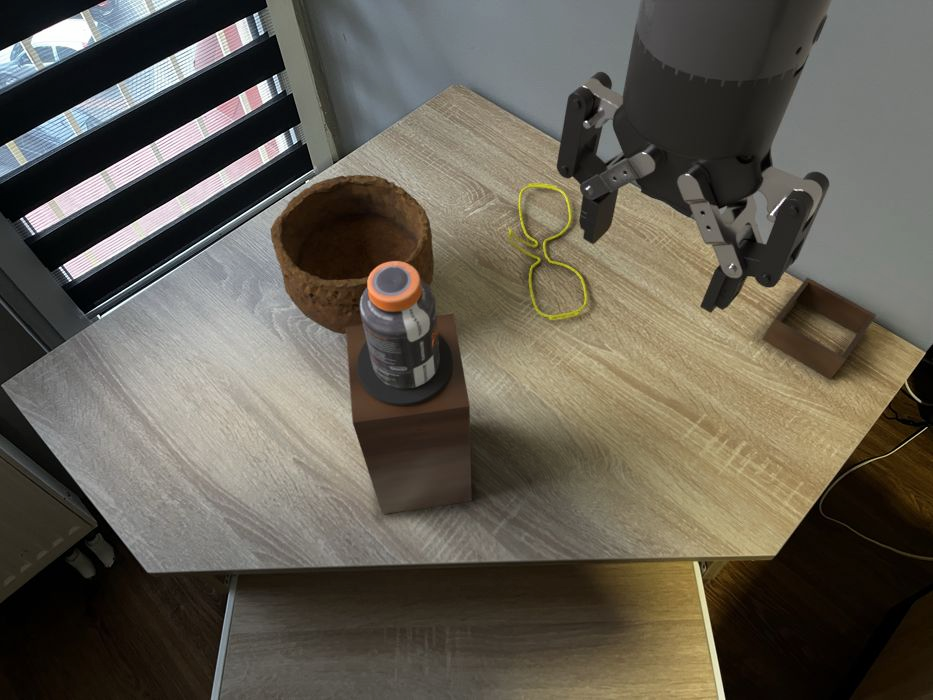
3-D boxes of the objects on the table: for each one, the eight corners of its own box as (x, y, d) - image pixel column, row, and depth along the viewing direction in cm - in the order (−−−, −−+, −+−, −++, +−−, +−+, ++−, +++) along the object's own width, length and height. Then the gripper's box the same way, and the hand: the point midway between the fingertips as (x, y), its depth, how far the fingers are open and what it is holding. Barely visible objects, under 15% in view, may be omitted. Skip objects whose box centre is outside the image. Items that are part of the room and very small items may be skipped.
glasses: (591, 322, 91) (596, 300, 87) (515, 327, 91) (517, 304, 87) (565, 187, 105) (568, 162, 101) (499, 190, 104) (500, 166, 100)
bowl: (318, 243, 99) (295, 162, 87) (448, 258, 97) (443, 177, 85) (278, 353, 89) (245, 279, 76) (422, 371, 87) (413, 299, 75)
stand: (471, 501, 78) (469, 406, 59) (382, 514, 77) (352, 422, 59) (458, 422, 83) (453, 312, 65) (375, 434, 82) (345, 326, 64)
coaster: (459, 399, 60) (458, 395, 59) (361, 413, 59) (360, 409, 59) (445, 320, 64) (445, 316, 64) (354, 332, 64) (353, 329, 63)
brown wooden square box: (861, 333, 89) (876, 314, 86) (829, 379, 86) (844, 362, 82) (795, 296, 93) (807, 277, 89) (761, 339, 89) (772, 321, 86)
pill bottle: (450, 377, 60) (444, 297, 51) (384, 400, 59) (366, 322, 50) (426, 325, 63) (417, 240, 54) (364, 345, 62) (343, 263, 53)
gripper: (541, 3, 31) (526, 247, 45) (845, 134, 26) (724, 367, 39) (634, -63, 34) (594, 184, 48) (924, 42, 29) (787, 288, 42)
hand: (653, 267), depth 44 cm, fingers open, 8 cm apart
